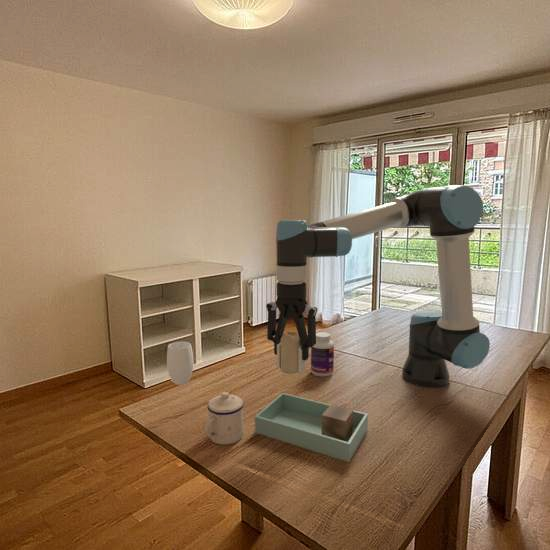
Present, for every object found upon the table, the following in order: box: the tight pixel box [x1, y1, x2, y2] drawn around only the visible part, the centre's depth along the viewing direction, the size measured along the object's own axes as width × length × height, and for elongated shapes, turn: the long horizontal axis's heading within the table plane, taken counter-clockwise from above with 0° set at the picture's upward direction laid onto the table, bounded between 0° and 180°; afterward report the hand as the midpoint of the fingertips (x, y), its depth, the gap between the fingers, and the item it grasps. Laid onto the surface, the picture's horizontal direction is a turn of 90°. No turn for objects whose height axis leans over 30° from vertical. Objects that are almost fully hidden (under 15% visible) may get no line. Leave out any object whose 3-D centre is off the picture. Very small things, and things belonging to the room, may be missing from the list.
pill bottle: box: [310, 331, 335, 378], centre depth 137 cm, size 8×8×14 cm
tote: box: [254, 392, 369, 463], centre depth 100 cm, size 25×15×5 cm, turn 61°
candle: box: [280, 331, 301, 375], centre depth 100 cm, size 6×6×10 cm
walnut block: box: [322, 404, 354, 442], centre depth 97 cm, size 6×6×7 cm
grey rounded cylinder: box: [166, 341, 195, 386], centre depth 109 cm, size 7×7×21 cm
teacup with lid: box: [203, 391, 244, 446], centre depth 98 cm, size 12×9×12 cm
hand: (291, 368), depth 101 cm, fingers closed on candle, 6 cm apart
